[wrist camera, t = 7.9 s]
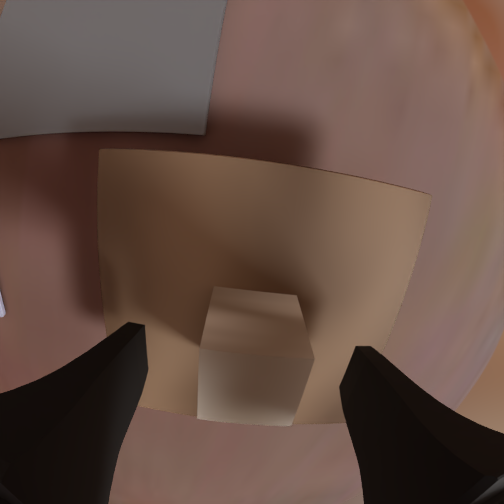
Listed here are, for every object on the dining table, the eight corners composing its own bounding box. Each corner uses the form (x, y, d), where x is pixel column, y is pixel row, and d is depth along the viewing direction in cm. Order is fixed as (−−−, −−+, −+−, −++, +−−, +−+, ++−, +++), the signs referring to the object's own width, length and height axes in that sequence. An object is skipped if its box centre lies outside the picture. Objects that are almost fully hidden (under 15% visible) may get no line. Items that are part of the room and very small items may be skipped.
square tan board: (123, 391, 14) (97, 454, 10) (108, 148, 10) (36, 156, 6) (344, 412, 14) (363, 475, 10) (421, 191, 10) (495, 220, 6)
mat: (-19, 141, 13) (-24, 142, 12) (34, -52, 7) (31, -54, 7) (205, 135, 13) (203, 135, 13) (250, -92, 8) (250, -97, 8)
